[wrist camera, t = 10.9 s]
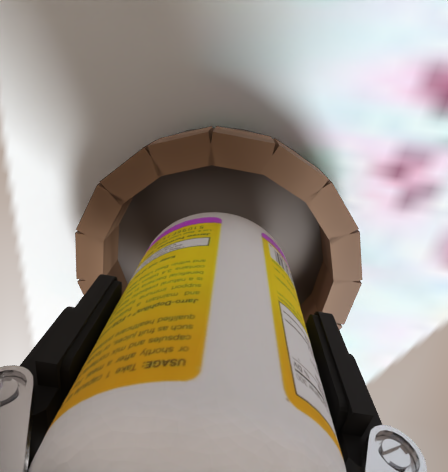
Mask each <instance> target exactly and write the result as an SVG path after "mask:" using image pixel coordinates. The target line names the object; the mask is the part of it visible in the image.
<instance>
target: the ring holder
mask: <svg viewBox="0 0 448 472" xmlns="http://www.w3.org/2000/svg"><path fill="white" fill-rule="evenodd" d="M207 212H221V213H228V214H233V215H237V216H240V217H243V218H246V219H248V220H250V221H252V222H254V223H255V224H257V225H259V226H260V227H262V228H263V229H264V230H265V231H267V232H268V233H269V234H270V235H271V236H272V237H273V238H274V239H275V241H276V242H277V243H278V245H279V246H280V248H281V249H282V251H283V253H284V255H285V257H286V260H287V263H288V266H289V268H290V272H291V275H292V279H293V282H294V286H295V290H296V293H297V297H298V301H299V304H300V308H301V311H302V315H303V319H304V322H305V325H306V322H307V320H308V317H309V315H310V314H313V315H314V313H315V312H316V311H319V312H324V313H330V314H332V315H333V316H334V319H335V321H336V324H337V326H338V328H339V330H340V329H341V328H342V326H341V324H344V323H345V321H346V319H347V316H348V314H349V312H350V309H351V307H352V305H353V302H354V300H355V298H356V295H357V293H358V291H359V288H360V286H361V284H362V283H361V282H360V280H362V266H361V247H360V232H359V231H358V230H357V229H359V228H358V227H357V225H356V223H355V222H354V220H353V218H352V216H351V215H350V213H349V211H348V209H347V208H346V206H345V204H344V202H343V201H342V199H341V197H340V195H339V194H338V192H337V190H336V189H335V187H334V185H333V183H332V182H331V181H330V180H329V179H328V178H327V177H326V176H325V175H324V174H323V173H322V172H321V171H320V170H319V169H318V168H317V167H316V166H314V165H313V164H311V163H310V162H309V161H307V160H306V159H304V158H303V157H301V156H300V155H299V154H298V153H296V152H295V151H294V150H292V149H290V148H289V147H287V146H285V145H284V144H282V143H281V142H280V141H278V140H277V139H275V138H274V139H272V138H271V136H266V135H262V134H258V133H254V132H250V131H247V130H242V129H234V128H225V127H218V126H216V127H215V128H212V126H211V127H206V128H201V129H195V130H189V131H185V132H182V133H179V134H175V135H172V136H168V137H163V138H159V139H158V140H155V141H154V142H152V143H150V144H149V145H147V146H145V147H144V148H142V149H141V150H140V151H139V152H137V153H136V154H135V155H133V156H132V157H131V158H130V159H128V160H127V161H126V162H124V163H123V164H122V165H121V166H119V167H118V168H117V169H115V170H114V171H113V172H112V173H110V174H109V175H108V176H106V177H105V178H104V179H103V180H101V181H100V183H99V184H98V185H97V186H96V188H95V191H94V193H93V195H92V197H91V199H90V201H89V203H88V205H87V208H86V210H85V212H84V214H83V216H82V218H81V220H80V222H79V224H78V227H77V229H76V230H78V231H77V232H76V233H75V238H76V275H77V279H79V281H78V284H79V286H80V288H81V290H82V292H83V294H84V295H85V293H86V292H87V291H88V289H89V288H90V287H91V285H92V284H93V283H94V281H95V280H96V279H97V277H98V276H99V275H100V274H104V275H109V276H115V277H117V281H120V282H122V295H123V293H124V291H125V289H126V287H127V286H128V284H129V282H130V280H131V278H132V276H133V275H134V273H135V271H136V269H137V267H138V266H139V264H140V262H141V260H142V258H143V257H144V255H145V253H146V251H147V250H148V248H149V246H150V245H151V243H152V242H153V241H154V239H155V238H156V237H157V236H158V235H159V234H160V233H161V232H162V231H163V230H164V229H165V228H167V227H168V226H170V225H171V224H172V223H174V222H176V221H178V220H180V219H182V218H185V217H188V216H190V215H194V214H199V213H207Z"/></svg>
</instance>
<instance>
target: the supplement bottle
mask: <svg viewBox="0 0 448 472" xmlns="http://www.w3.org/2000/svg"><path fill="white" fill-rule="evenodd" d="M28 472H346V468H345V464H344V460H343V456H342V452H341V449H340V446H339V443H338V439H337V436H336V432H335V429H334V425H333V421H332V418H331V415H330V411H329V408H328V404H327V401H326V397H325V394H324V390H323V386H322V383H321V380H320V376H319V373H318V369H317V365H316V361H315V358H314V354H313V351H312V347H311V343H310V340H309V336H308V333H307V329H306V326H305V322H304V319H303V315H302V311H301V308H300V304H299V301H298V297H297V293H296V290H295V286H294V282H293V279H292V275H291V272H290V268H289V266H288V263H287V260H286V257H285V255H284V253H283V251H282V249H281V248H280V246H279V245H278V243H277V242H276V241H275V239H274V238H273V237H272V236H271V235H270V234H269V233H268V232H267V231H265V230H264V229H263V228H262V227H260V226H259V225H257V224H255V223H254V222H252V221H250V220H248V219H246V218H243V217H240V216H237V215H233V214H228V213H221V212H207V213H199V214H194V215H190V216H188V217H185V218H182V219H180V220H178V221H176V222H174V223H172V224H171V225H170V226H168V227H167V228H165V229H164V230H163V231H162V232H161V233H160V234H159V235H158V236H157V237H156V238H155V239H154V241H153V242H152V243H151V245H150V246H149V248H148V250H147V251H146V253H145V255H144V257H143V258H142V260H141V262H140V264H139V266H138V267H137V269H136V271H135V273H134V275H133V276H132V278H131V280H130V282H129V284H128V286H127V287H126V289H125V291H124V293H123V295H122V296H121V298H120V300H119V302H118V304H117V305H116V307H115V309H114V311H113V313H112V314H111V316H110V318H109V320H108V322H107V324H106V325H105V327H104V329H103V331H102V333H101V334H100V336H99V338H98V340H97V342H96V344H95V346H94V348H93V349H92V351H91V353H90V355H89V356H88V358H87V360H86V362H85V364H84V366H83V367H82V369H81V371H80V373H79V375H78V377H77V379H76V380H75V382H74V384H73V386H72V388H71V390H70V391H69V393H68V395H67V397H66V399H65V400H64V402H63V404H62V406H61V408H60V409H59V411H58V413H57V415H56V417H55V418H54V420H53V422H52V424H51V426H50V427H49V429H48V431H47V433H46V435H45V437H44V439H43V441H42V443H41V445H40V447H39V449H38V451H37V452H36V454H35V456H34V458H33V460H32V463H31V465H30V467H29V470H28Z"/></svg>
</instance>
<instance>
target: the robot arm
mask: <svg viewBox="0 0 448 472" xmlns="http://www.w3.org/2000/svg"><path fill="white" fill-rule="evenodd" d="M121 296H122V282H120V281H117V277H115V276H109V275H104V274H100V275H99V276H98V277H97V279H96V280H95V281H94V283H93V284H92V285H91V287H90V288H89V289H88V291H87V292H86V293H85V295H84V296H83V297H82V299H81V300H80V301H79V303H78V304H77V305H76V307H75V308H74V307H67V308H65V309H64V310H63V312H62V313H61V314H60V315H59V317H58V318H57V319H56V321H55V322H54V323H53V324H52V326H51V327H50V328H49V329H48V331H47V332H46V333H45V334H44V336H43V337H42V338H41V339H40V341H39V342H38V343H37V345H36V346H35V347H34V348H33V350H32V351H31V352H30V354H29V355H28V356H27V357H26V359H25V360H24V361H23V362H22V364H21V365H20V366H15V365H14V366H4V367H0V472H28V470H29V467H30V465H31V463H32V460H33V458H34V456H35V454H36V452H37V451H38V449H39V447H40V445H41V443H42V441H43V439H44V437H45V435H46V433H47V431H48V429H49V427H50V426H51V424H52V422H53V420H54V418H55V417H56V415H57V413H58V411H59V409H60V408H61V406H62V404H63V402H64V400H65V399H66V397H67V395H68V393H69V391H70V390H71V388H72V386H73V384H74V382H75V380H76V379H77V377H78V375H79V373H80V371H81V369H82V367H83V366H84V364H85V362H86V360H87V358H88V356H89V355H90V353H91V351H92V349H93V348H94V346H95V344H96V342H97V340H98V338H99V336H100V334H101V333H102V331H103V329H104V327H105V325H106V324H107V322H108V320H109V318H110V316H111V314H112V313H113V311H114V309H115V307H116V305H117V304H118V302H119V300H120V298H121ZM305 326H306V329H307V333H308V336H309V340H310V343H311V347H312V351H313V354H314V358H315V361H316V365H317V369H318V373H319V376H320V380H321V383H322V386H323V390H324V394H325V397H326V401H327V404H328V408H329V411H330V415H331V418H332V421H333V425H334V429H335V432H336V436H337V439H338V443H339V446H340V449H341V452H342V456H343V460H344V464H345V468H346V472H427V467H426V463H425V459H424V457H423V455H422V453H421V451H420V449H419V448H418V447H417V446H416V444H415V443H414V442H413V441H412V440H411V439H410V438H409V437H408V436H407V435H405V434H404V433H402V432H401V431H399V430H398V429H395V428H393V427H391V426H386V425H382V423H381V420H380V418H379V416H378V413H377V411H376V408H375V406H374V404H373V401H372V399H371V397H370V394H369V392H368V390H367V387H366V385H365V382H364V380H363V377H362V375H361V373H360V370H359V368H358V366H357V363H356V361H355V359H354V357H353V356H352V355H351V354H349V353H348V351H347V348H346V346H345V343H344V341H343V338H342V336H341V333H340V331H339V328H338V326H337V324H336V321H335V319H334V316H333V315H332V314H330V313H324V312H319V311H316V312H315V313H314V315H313V314H310V315H309V317H308V320H307V322H306V325H305Z"/></svg>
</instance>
